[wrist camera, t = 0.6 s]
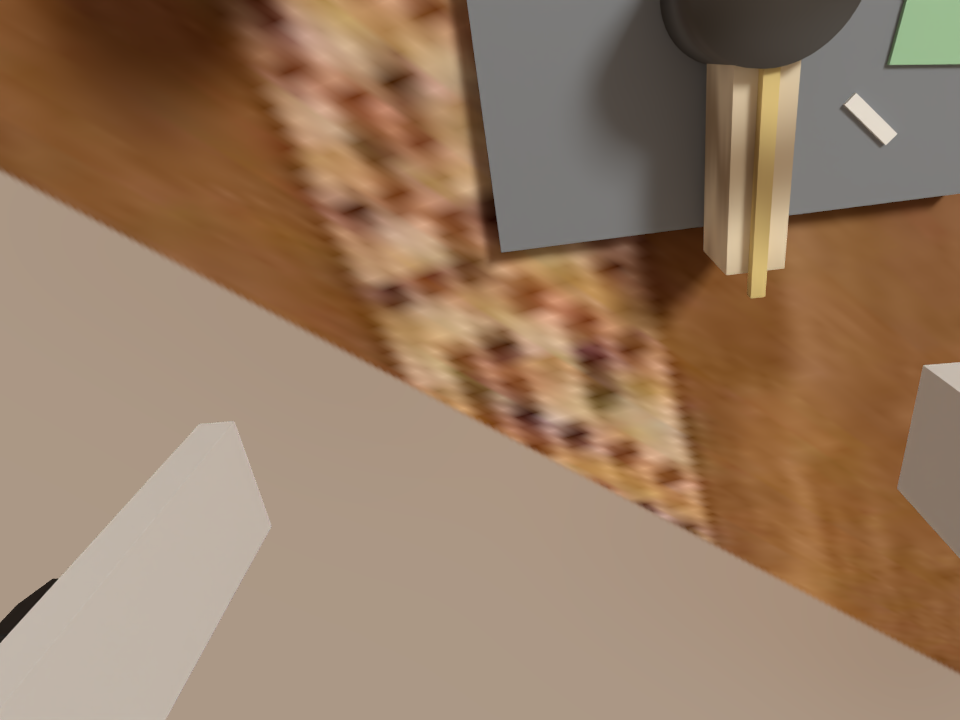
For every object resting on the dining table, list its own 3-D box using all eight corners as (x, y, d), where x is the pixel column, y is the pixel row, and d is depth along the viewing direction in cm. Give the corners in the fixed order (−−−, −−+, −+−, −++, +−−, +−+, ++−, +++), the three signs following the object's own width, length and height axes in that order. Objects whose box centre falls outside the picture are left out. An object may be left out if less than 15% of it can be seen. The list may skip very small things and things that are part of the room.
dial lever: (658, -90, 24) (691, -123, 19) (818, -121, 23) (890, -162, 19) (663, 270, 30) (688, 308, 26) (787, 255, 30) (834, 291, 25)
